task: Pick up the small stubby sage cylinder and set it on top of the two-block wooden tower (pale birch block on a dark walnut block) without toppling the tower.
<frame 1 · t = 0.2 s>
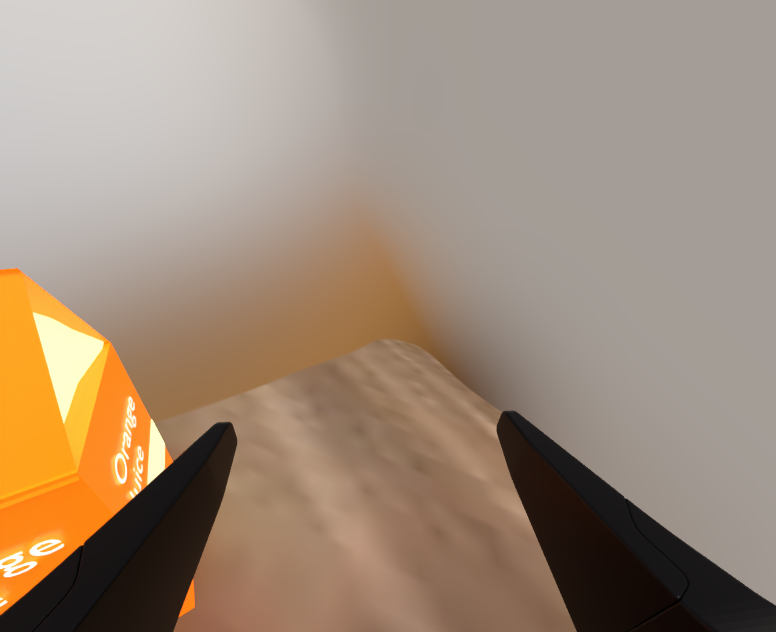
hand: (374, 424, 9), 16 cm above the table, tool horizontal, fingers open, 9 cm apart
orange juice: (106, 587, 17), on the table
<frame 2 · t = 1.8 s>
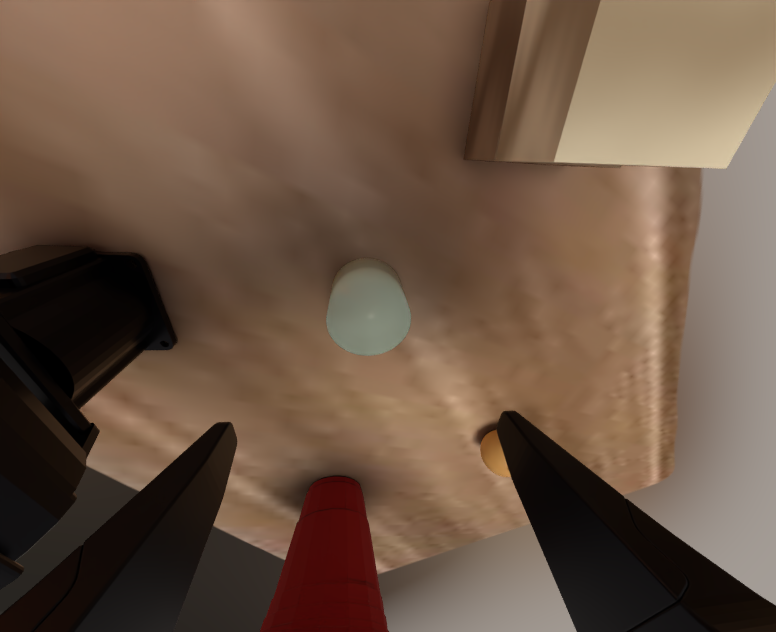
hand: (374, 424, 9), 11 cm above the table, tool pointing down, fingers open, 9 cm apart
stubby sage cylinder: (366, 291, 18), on the table
walnut block: (530, 95, 14), on the table, touching birch block
birch block: (587, 73, 11), point 4 cm above the table, touching walnut block
figurine: (502, 428, 28), on the table
plastic cup: (333, 489, 30), on the table
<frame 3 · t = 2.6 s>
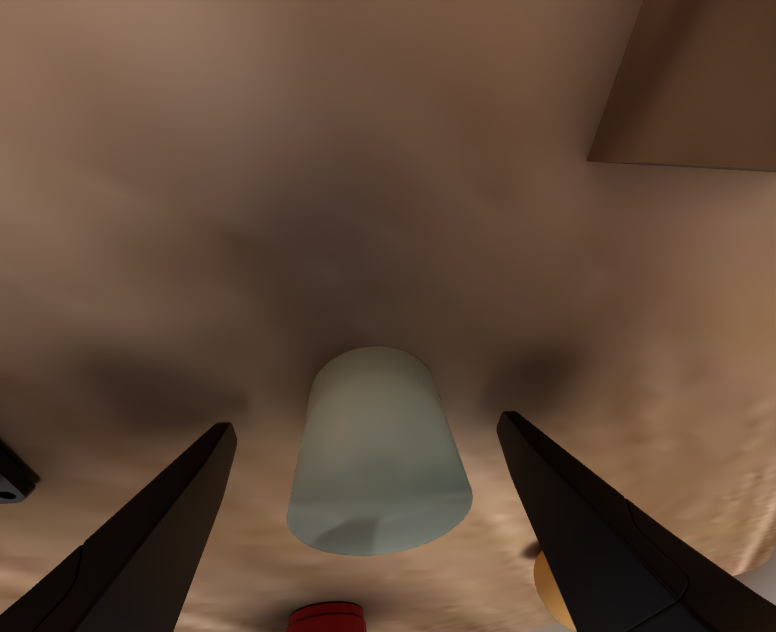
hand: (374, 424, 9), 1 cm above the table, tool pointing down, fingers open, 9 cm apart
stubby sage cylinder: (373, 395, 10), on the table
walnut block: (764, 8, 6), on the table, touching birch block
figurine: (561, 539, 20), on the table
plastic cup: (325, 612, 22), on the table
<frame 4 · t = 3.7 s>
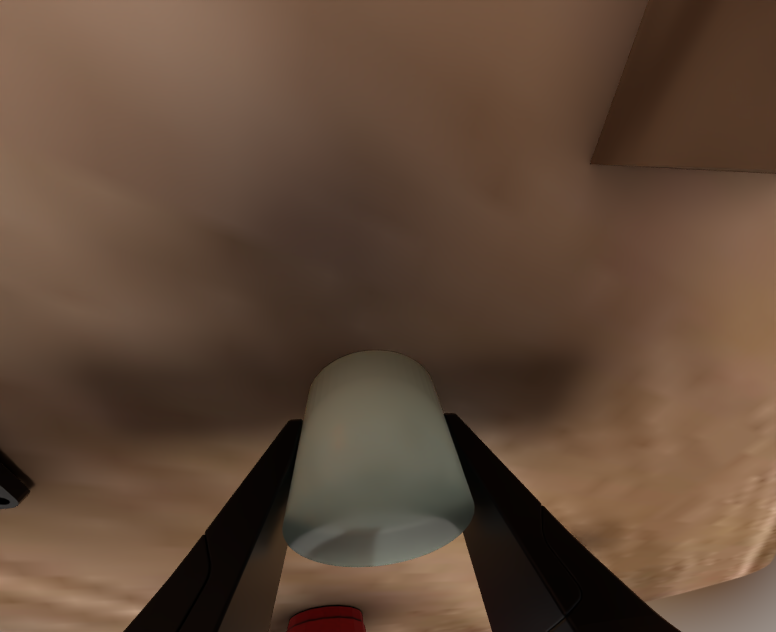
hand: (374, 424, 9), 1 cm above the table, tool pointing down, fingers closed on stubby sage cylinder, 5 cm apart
stubby sage cylinder: (372, 400, 10), on the table, touching gripper
walnut block: (775, 6, 6), on the table, touching birch block
plastic cup: (324, 615, 22), on the table
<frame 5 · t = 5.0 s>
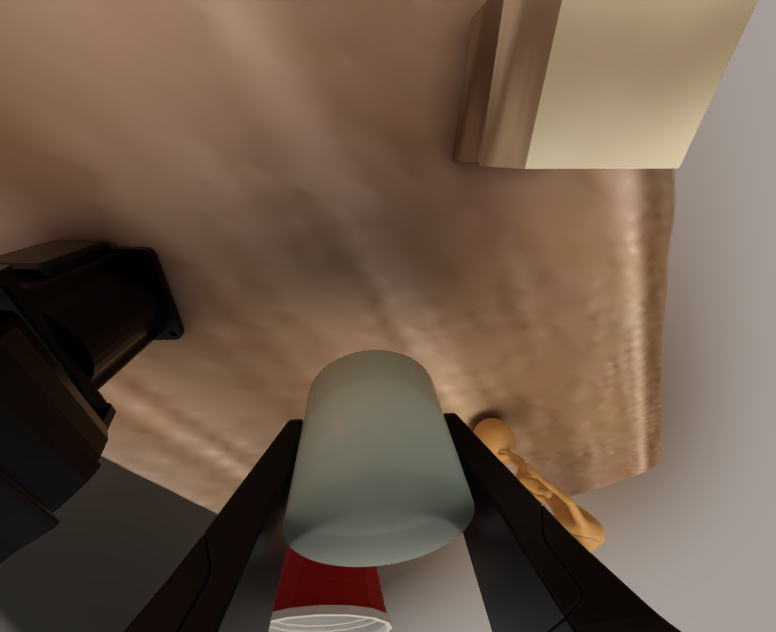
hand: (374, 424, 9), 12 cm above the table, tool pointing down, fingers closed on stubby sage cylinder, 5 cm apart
stubby sage cylinder: (372, 400, 10), point 11 cm above the table, touching gripper
walnut block: (512, 101, 15), on the table, touching birch block
birch block: (558, 86, 12), point 4 cm above the table, touching walnut block
figurine: (494, 417, 29), on the table
plastic cup: (332, 477, 31), on the table
when the fingers open (10 cm above the table, at t = 6.6 s): stubby sage cylinder drops 1 cm, resting on birch block.
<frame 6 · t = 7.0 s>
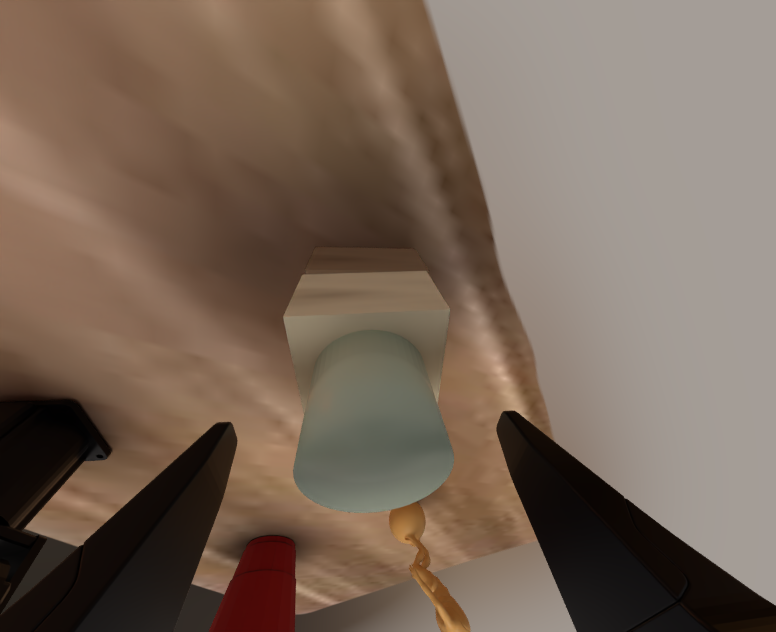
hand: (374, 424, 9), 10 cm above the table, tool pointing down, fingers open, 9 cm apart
stubby sage cylinder: (370, 376, 11), point 8 cm above the table, touching birch block
walnut block: (365, 291, 18), on the table, touching birch block
birch block: (367, 325, 15), point 4 cm above the table, touching stubby sage cylinder, walnut block
figurine: (412, 495, 32), on the table
plastic cup: (270, 544, 34), on the table
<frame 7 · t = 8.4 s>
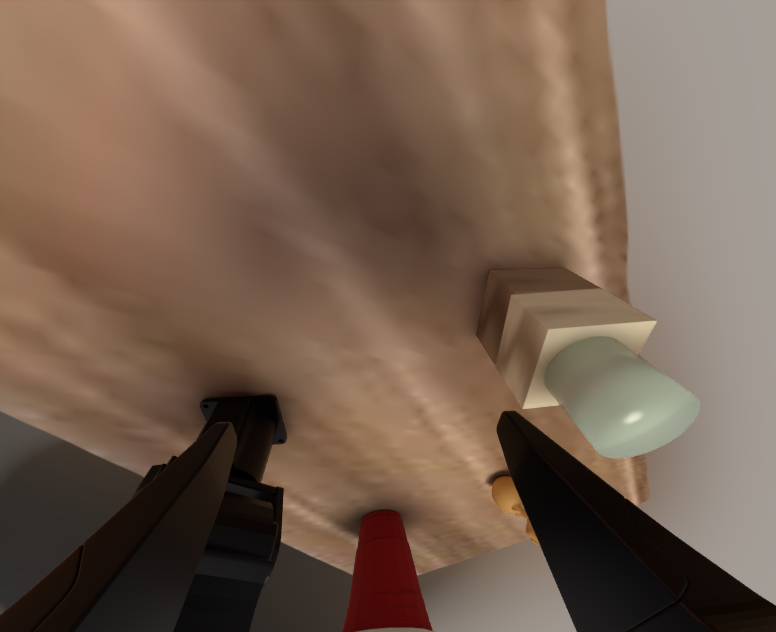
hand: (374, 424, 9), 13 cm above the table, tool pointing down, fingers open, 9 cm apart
stubby sage cylinder: (583, 368, 16), point 8 cm above the table, touching birch block
walnut block: (516, 302, 23), on the table, touching birch block
birch block: (544, 330, 19), point 4 cm above the table, touching stubby sage cylinder, walnut block
figurine: (508, 474, 36), on the table
plastic cup: (380, 518, 40), on the table
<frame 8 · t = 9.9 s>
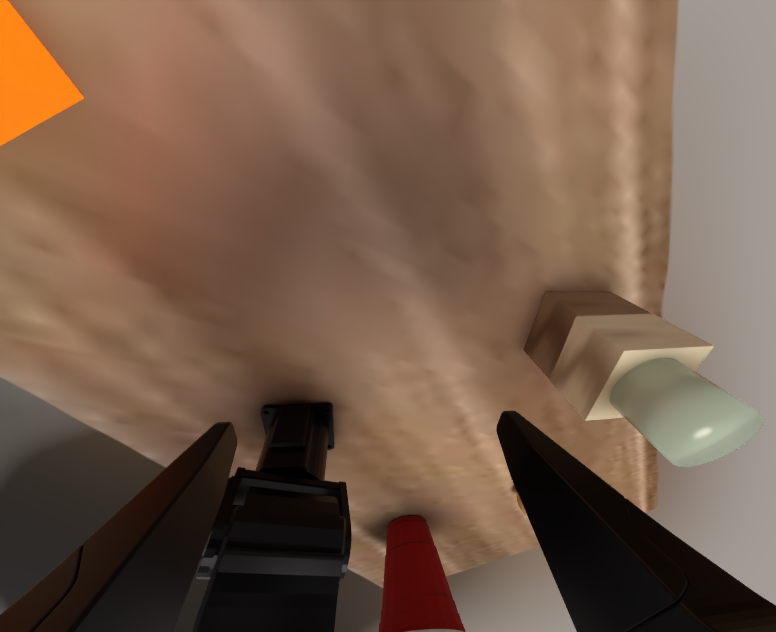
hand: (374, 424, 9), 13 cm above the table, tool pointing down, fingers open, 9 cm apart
stubby sage cylinder: (645, 385, 18), point 8 cm above the table, touching birch block
walnut block: (564, 321, 25), on the table, touching birch block
birch block: (598, 348, 21), point 4 cm above the table, touching stubby sage cylinder, walnut block
plastic cup: (405, 524, 41), on the table
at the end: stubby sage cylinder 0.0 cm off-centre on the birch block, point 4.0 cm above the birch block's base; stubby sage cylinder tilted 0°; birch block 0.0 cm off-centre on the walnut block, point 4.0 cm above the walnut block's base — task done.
